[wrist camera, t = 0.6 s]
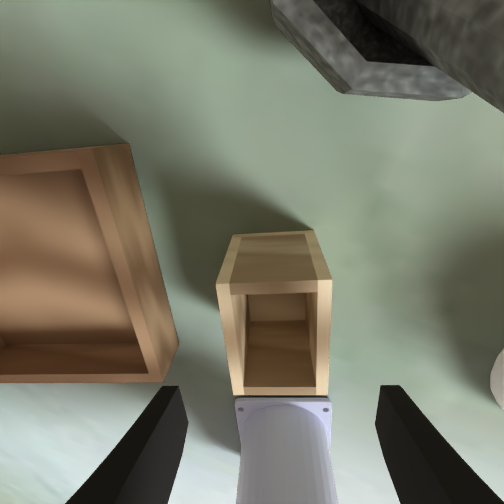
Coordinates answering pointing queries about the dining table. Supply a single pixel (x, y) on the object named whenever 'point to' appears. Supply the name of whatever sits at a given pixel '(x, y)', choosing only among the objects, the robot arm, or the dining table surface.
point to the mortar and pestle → (401, 46)
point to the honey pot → (498, 379)
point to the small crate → (276, 313)
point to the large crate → (79, 271)
